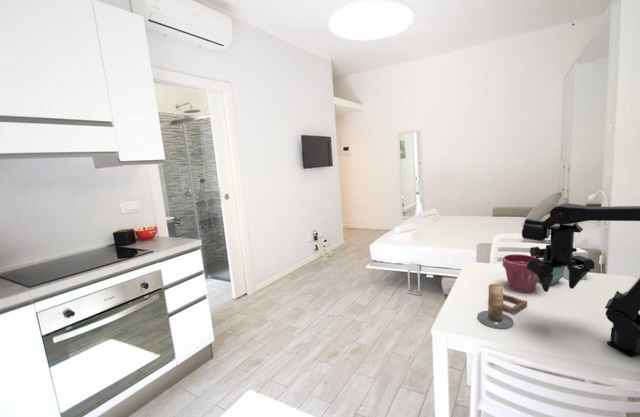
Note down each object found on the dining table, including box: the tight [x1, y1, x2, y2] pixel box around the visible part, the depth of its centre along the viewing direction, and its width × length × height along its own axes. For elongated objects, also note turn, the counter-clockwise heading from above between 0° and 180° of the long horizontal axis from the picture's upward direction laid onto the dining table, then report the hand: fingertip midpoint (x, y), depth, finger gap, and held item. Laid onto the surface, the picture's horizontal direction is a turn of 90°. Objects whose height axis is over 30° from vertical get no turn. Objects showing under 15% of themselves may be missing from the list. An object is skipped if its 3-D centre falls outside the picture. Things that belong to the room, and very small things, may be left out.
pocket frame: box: [503, 293, 528, 315], centre depth 115 cm, size 9×9×2 cm
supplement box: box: [562, 247, 589, 281], centre depth 134 cm, size 7×7×13 cm
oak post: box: [487, 283, 504, 322], centre depth 105 cm, size 4×4×12 cm
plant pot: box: [502, 253, 543, 293], centre depth 127 cm, size 14×14×13 cm
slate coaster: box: [477, 310, 514, 330], centre depth 106 cm, size 11×11×1 cm
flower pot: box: [537, 258, 565, 286], centre depth 131 cm, size 9×9×9 cm
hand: (558, 289), depth 98 cm, fingers open, 9 cm apart
